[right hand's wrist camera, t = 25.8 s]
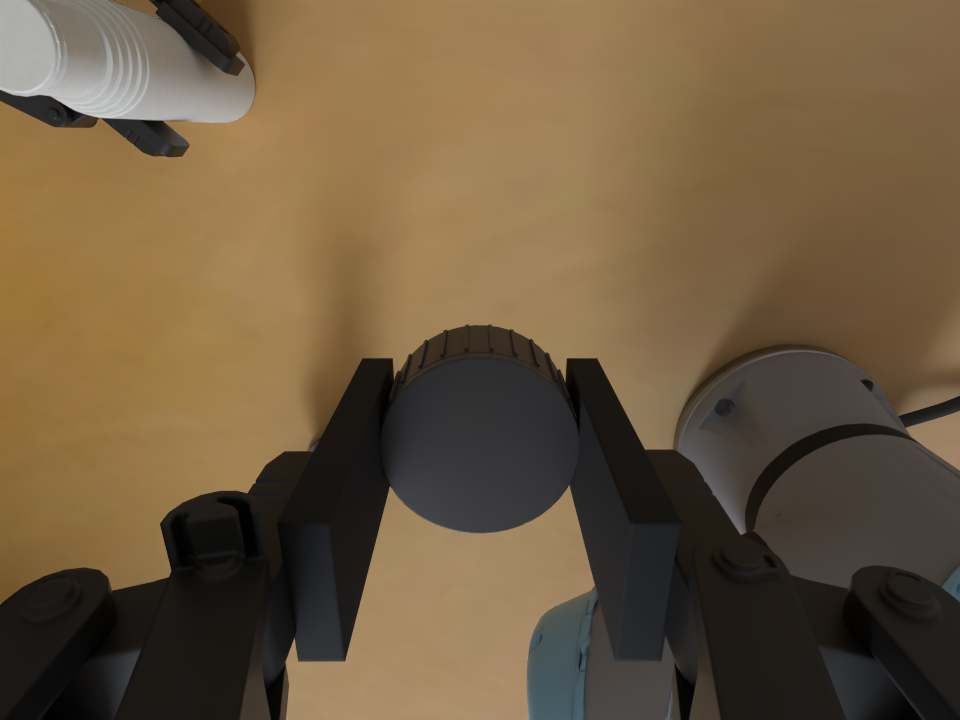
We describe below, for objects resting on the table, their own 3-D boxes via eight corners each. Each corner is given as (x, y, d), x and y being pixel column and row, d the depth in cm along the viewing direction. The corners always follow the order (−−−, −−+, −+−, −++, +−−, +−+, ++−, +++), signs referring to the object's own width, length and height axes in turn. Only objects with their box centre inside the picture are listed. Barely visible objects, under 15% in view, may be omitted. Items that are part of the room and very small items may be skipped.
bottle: (205, 135, 36) (-4, 136, 20) (164, 59, 34) (-98, -3, 19) (269, 104, 35) (103, 81, 20) (230, 26, 34) (16, -67, 18)
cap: (514, 506, 16) (520, 562, 14) (362, 440, 15) (344, 489, 13) (601, 371, 14) (622, 411, 12) (437, 291, 14) (431, 318, 11)
